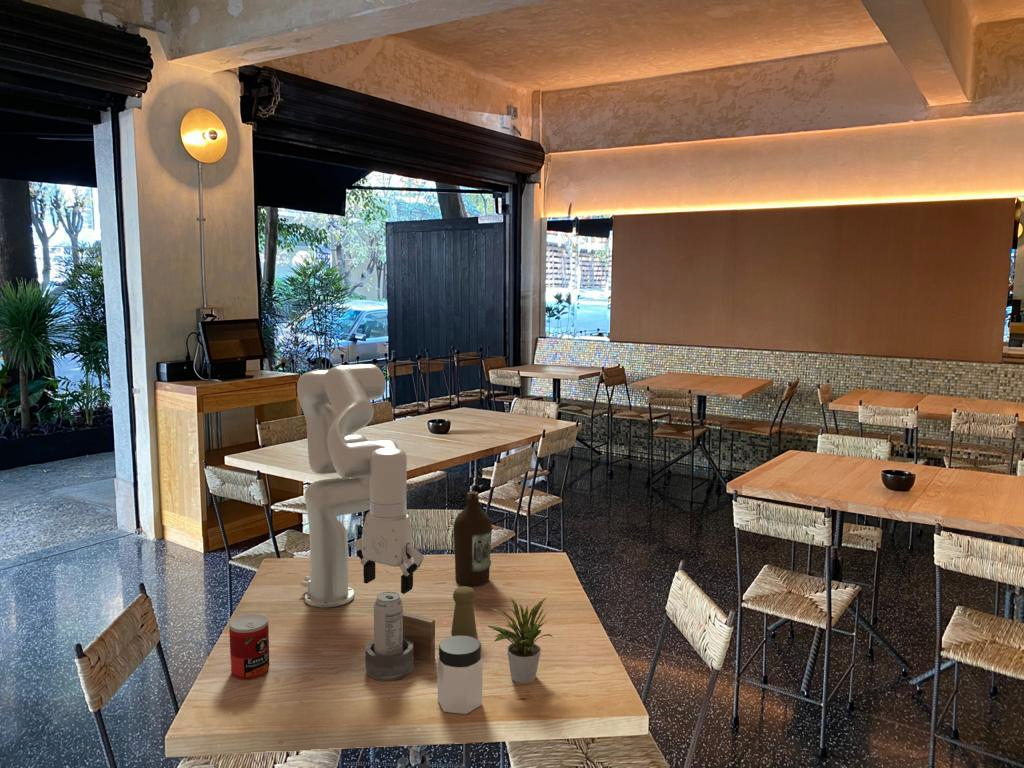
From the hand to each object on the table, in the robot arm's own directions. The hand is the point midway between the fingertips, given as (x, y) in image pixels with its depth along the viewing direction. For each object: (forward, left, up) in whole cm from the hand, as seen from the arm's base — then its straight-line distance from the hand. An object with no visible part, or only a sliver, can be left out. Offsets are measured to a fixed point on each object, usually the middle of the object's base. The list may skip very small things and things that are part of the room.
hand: (387, 586), depth 157 cm
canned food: (-24, -15, -18) cm, 34 cm away
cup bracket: (+1, +1, -18) cm, 18 cm away
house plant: (+27, +12, -18) cm, 34 cm away
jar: (+21, -4, -18) cm, 28 cm away
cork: (+6, +22, -18) cm, 29 cm away
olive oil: (-9, +51, -18) cm, 55 cm away
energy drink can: (0, 0, -17) cm, 17 cm away
